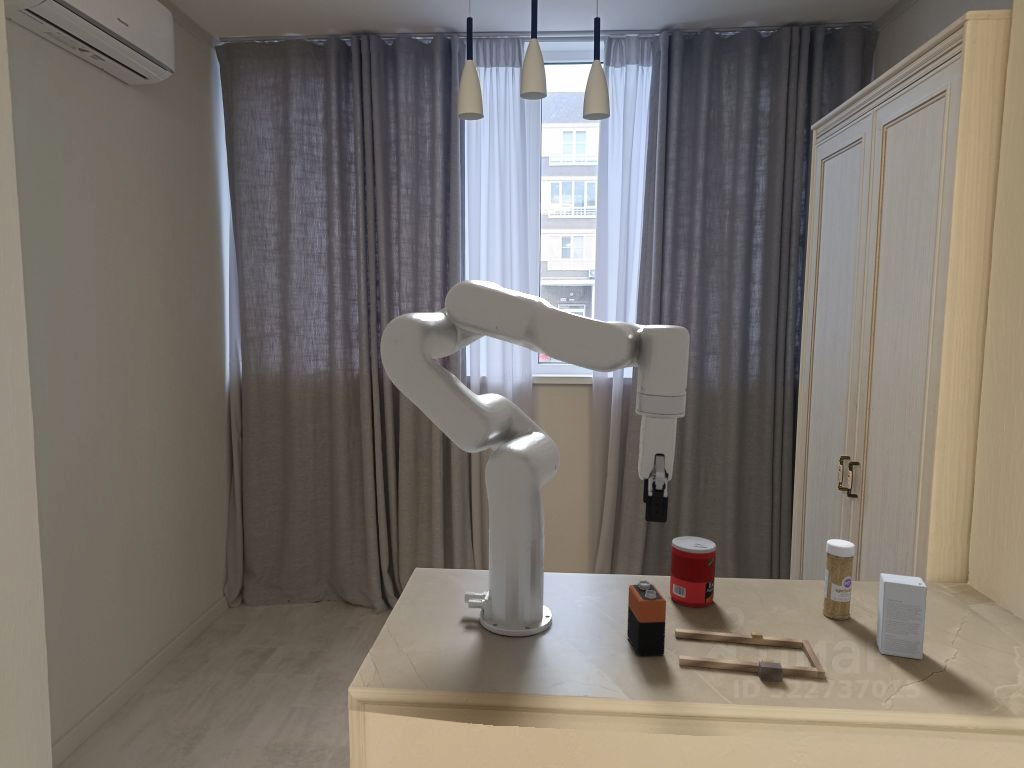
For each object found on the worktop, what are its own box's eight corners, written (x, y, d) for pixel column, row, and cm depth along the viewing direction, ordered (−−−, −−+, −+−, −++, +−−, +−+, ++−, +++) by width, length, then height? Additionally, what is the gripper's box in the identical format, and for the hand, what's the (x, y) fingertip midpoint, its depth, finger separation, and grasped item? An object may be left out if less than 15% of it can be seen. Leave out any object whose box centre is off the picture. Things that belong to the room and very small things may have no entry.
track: (680, 671, 103) (680, 659, 103) (674, 634, 115) (675, 622, 115) (828, 686, 100) (829, 673, 99) (807, 645, 112) (808, 634, 111)
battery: (652, 635, 114) (654, 578, 113) (665, 656, 108) (667, 595, 107) (626, 636, 114) (628, 578, 113) (638, 657, 107) (640, 596, 106)
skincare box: (916, 648, 111) (922, 577, 110) (922, 660, 107) (928, 587, 106) (874, 641, 113) (879, 571, 112) (879, 654, 109) (884, 581, 108)
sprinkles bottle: (841, 623, 120) (846, 548, 118) (816, 613, 123) (821, 541, 122) (855, 616, 122) (860, 543, 121) (830, 607, 126) (835, 536, 125)
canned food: (715, 610, 125) (718, 551, 123) (670, 605, 126) (672, 547, 125) (711, 593, 132) (714, 537, 131) (669, 589, 134) (671, 534, 132)
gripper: (634, 396, 116) (629, 495, 118) (637, 412, 99) (631, 527, 101) (680, 398, 114) (674, 498, 117) (691, 415, 98) (683, 531, 100)
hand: (654, 511), depth 109 cm, fingers open, 9 cm apart
